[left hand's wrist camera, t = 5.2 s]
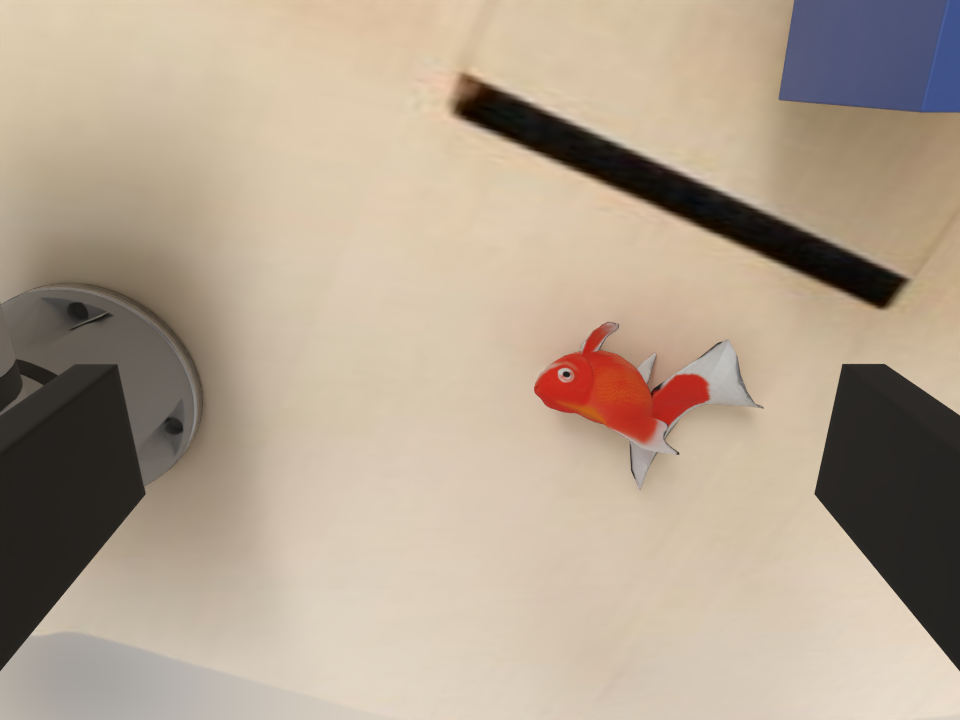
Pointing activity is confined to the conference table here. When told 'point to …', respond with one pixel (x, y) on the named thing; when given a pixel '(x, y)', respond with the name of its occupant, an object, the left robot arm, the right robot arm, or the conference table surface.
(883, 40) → the box
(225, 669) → the conference table surface
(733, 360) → the fish
